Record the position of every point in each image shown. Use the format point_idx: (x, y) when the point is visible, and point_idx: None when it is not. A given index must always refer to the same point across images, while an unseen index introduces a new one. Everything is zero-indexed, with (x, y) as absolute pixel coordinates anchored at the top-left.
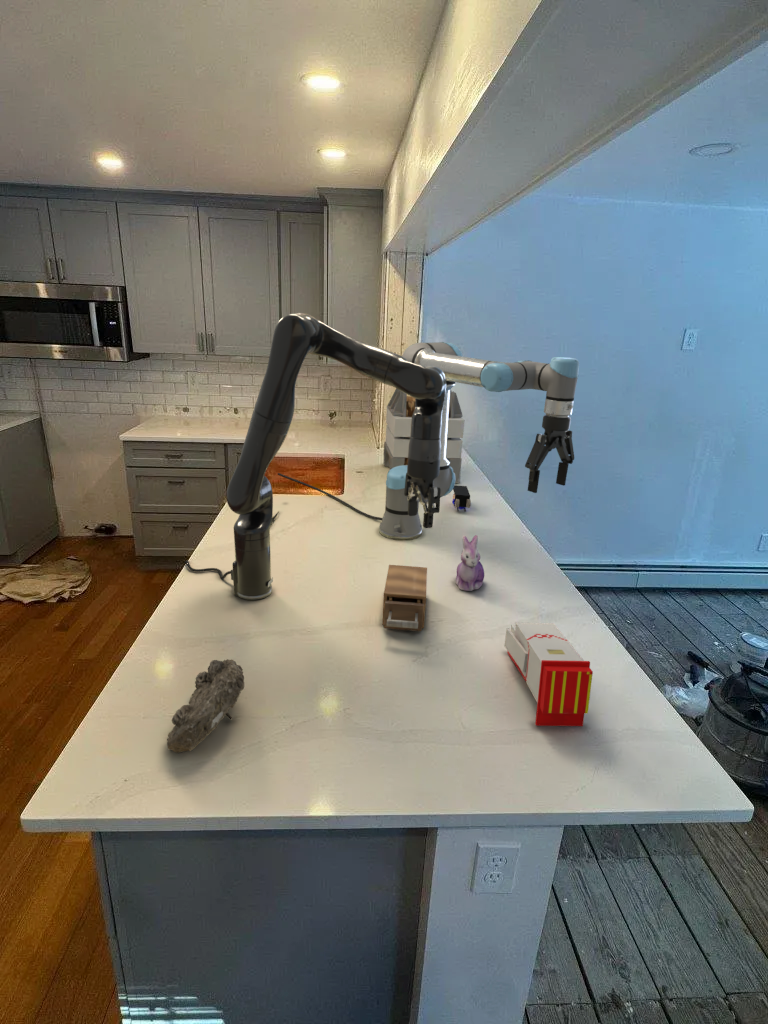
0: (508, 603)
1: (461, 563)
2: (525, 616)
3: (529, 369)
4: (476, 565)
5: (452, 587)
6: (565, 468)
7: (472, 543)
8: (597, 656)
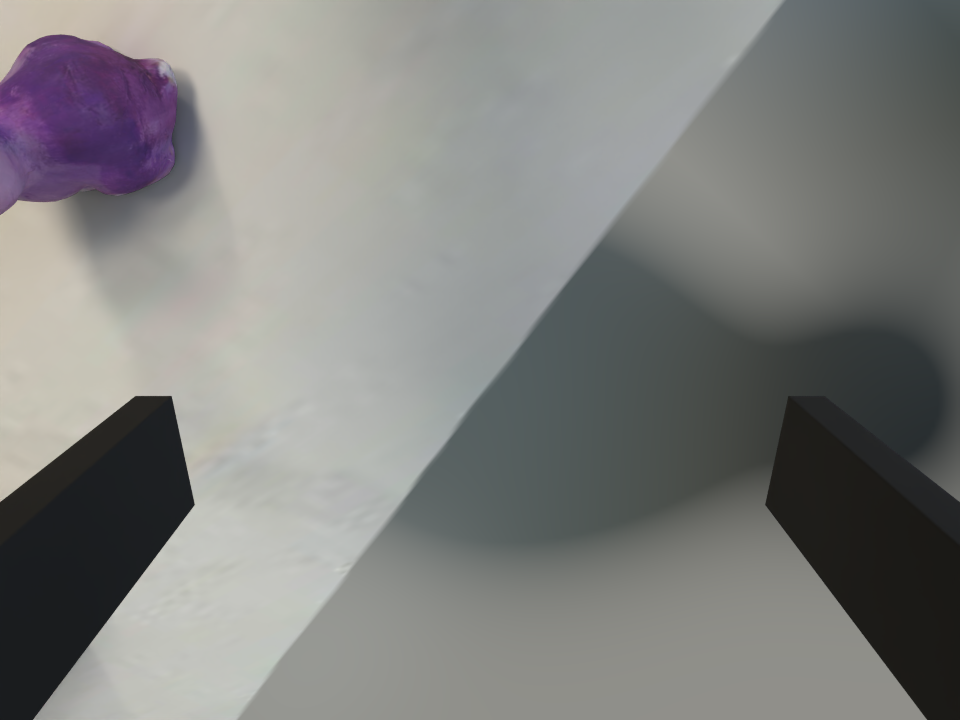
0: (171, 346)
1: (7, 78)
2: None
3: None
4: (27, 189)
5: None
6: (934, 708)
7: None
8: (203, 653)
